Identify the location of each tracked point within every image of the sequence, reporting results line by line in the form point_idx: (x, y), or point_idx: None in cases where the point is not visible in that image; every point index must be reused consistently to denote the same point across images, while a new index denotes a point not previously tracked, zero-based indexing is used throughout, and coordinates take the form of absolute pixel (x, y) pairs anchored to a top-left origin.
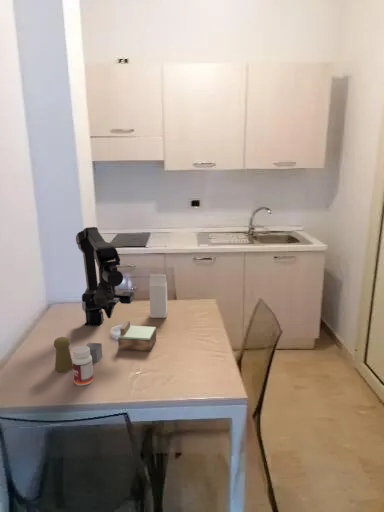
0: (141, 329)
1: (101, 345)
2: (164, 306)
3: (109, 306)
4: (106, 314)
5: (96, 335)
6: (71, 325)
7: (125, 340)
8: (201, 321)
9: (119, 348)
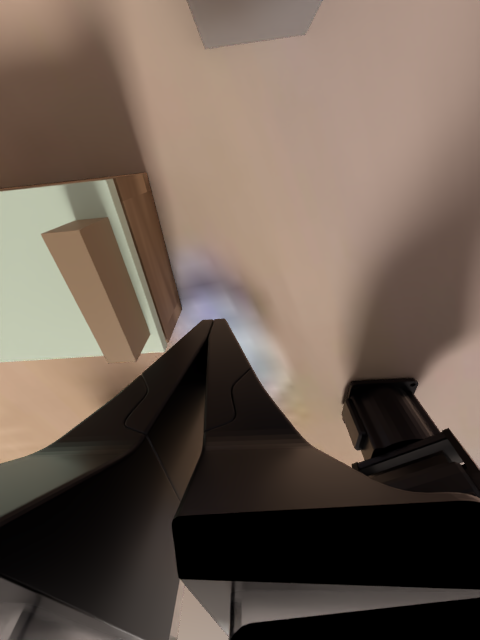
0: (40, 322)
1: (190, 5)
2: None
3: (115, 447)
4: (232, 338)
5: (336, 307)
6: (476, 367)
7: (65, 183)
8: (17, 449)
9: (138, 173)
